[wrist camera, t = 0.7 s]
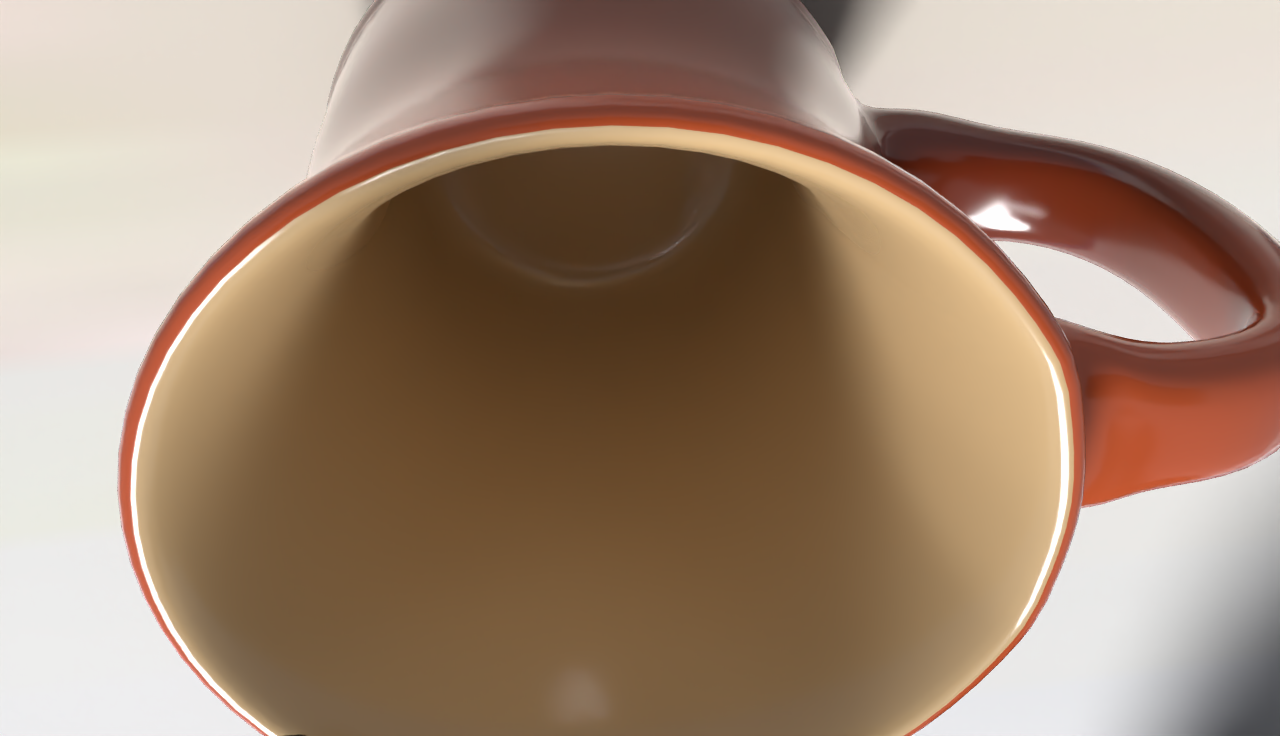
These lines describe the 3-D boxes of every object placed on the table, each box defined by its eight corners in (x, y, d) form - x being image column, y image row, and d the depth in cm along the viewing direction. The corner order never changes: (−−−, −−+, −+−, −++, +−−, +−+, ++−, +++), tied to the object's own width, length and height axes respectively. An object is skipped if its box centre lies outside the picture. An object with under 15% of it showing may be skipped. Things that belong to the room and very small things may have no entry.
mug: (372, 353, 22) (264, 870, 14) (239, -158, 17) (-59, 172, 9) (1031, 285, 22) (1322, 762, 14) (1095, -247, 17) (1617, -1, 9)
